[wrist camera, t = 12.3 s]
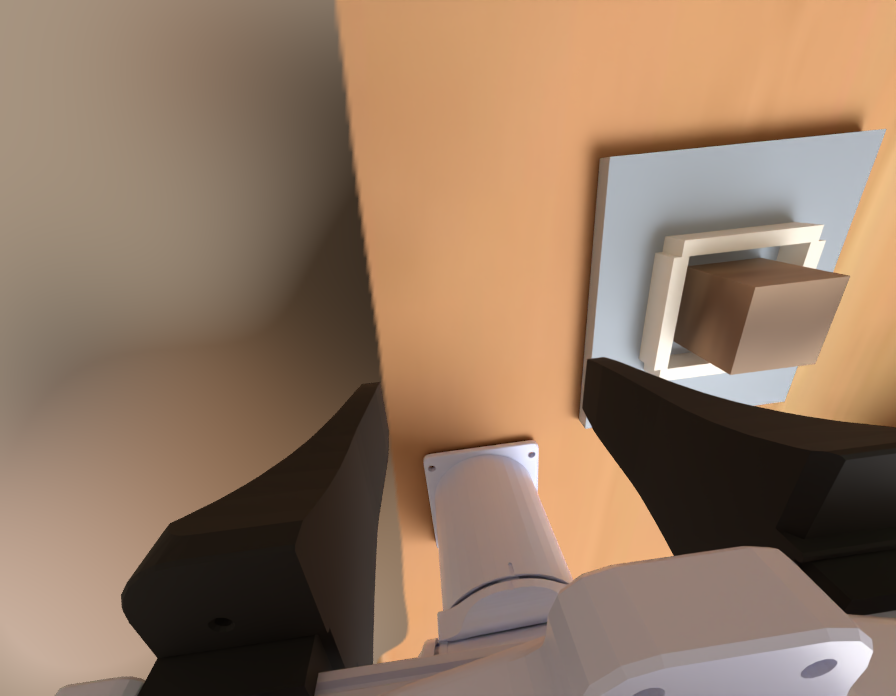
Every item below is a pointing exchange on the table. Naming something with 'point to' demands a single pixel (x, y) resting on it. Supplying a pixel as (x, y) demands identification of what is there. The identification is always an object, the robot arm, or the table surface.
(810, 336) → the brown cube
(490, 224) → the table surface
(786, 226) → the base plate
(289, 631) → the robot arm
